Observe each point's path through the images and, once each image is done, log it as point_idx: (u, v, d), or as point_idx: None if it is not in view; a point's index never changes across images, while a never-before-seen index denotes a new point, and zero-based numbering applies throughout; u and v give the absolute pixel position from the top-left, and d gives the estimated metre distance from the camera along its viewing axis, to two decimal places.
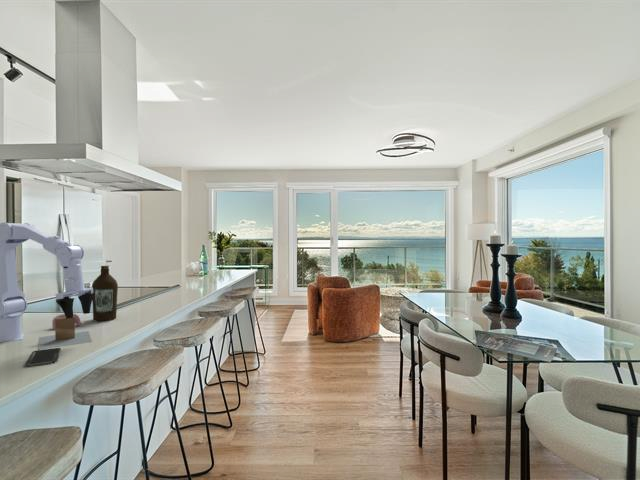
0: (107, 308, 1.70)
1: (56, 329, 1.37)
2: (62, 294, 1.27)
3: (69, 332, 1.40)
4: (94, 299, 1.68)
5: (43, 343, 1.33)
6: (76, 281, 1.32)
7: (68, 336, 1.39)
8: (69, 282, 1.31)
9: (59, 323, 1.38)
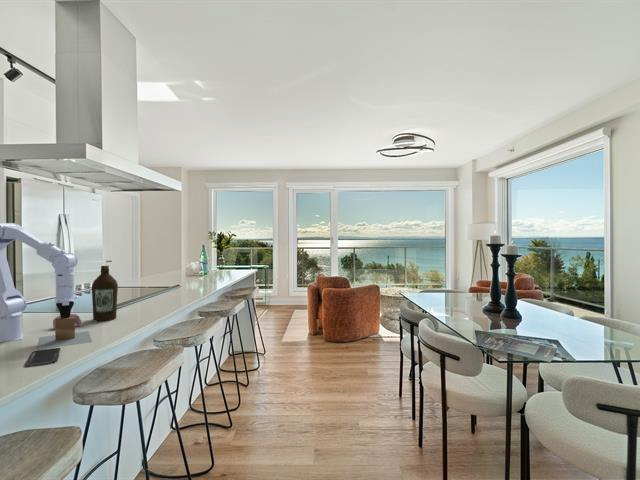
0: (107, 308, 1.70)
1: (56, 330, 1.37)
2: (69, 300, 1.35)
3: (69, 332, 1.39)
4: (94, 299, 1.68)
5: (43, 343, 1.33)
6: (73, 288, 1.40)
7: (68, 336, 1.39)
8: (67, 289, 1.38)
9: (59, 324, 1.37)
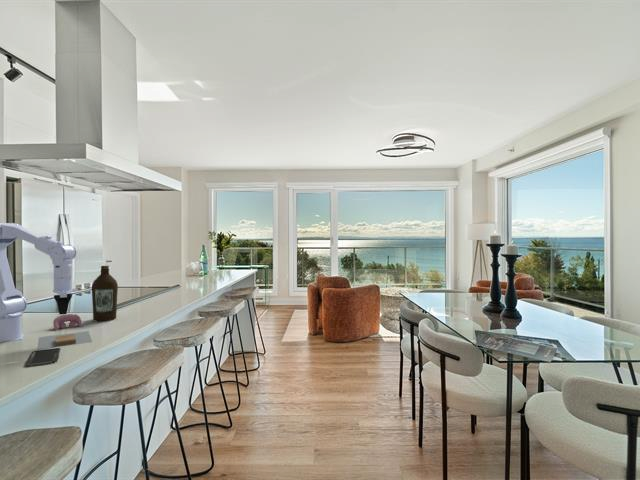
0: (107, 308, 1.70)
1: None
2: (66, 292, 1.32)
3: None
4: (94, 299, 1.68)
5: (43, 343, 1.33)
6: (71, 280, 1.37)
7: None
8: (65, 281, 1.35)
9: None
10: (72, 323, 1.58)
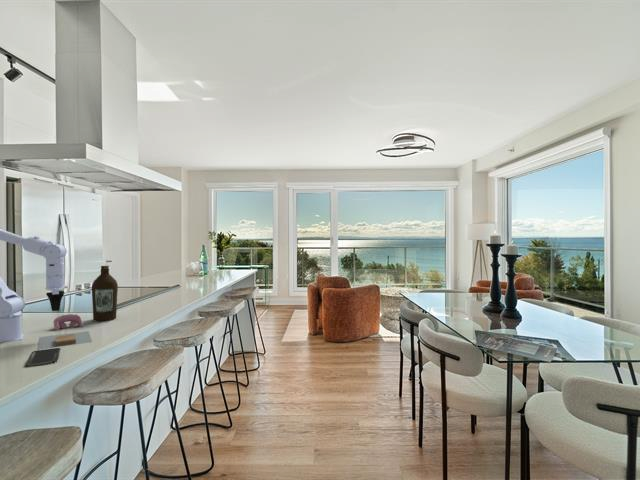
0: (107, 308, 1.70)
1: None
2: (58, 290, 1.38)
3: None
4: (94, 299, 1.68)
5: (43, 343, 1.33)
6: (63, 278, 1.42)
7: None
8: (57, 279, 1.40)
9: None
10: (72, 323, 1.58)
